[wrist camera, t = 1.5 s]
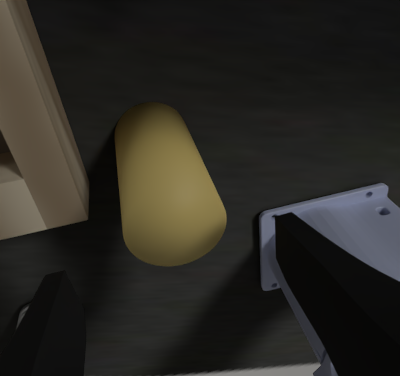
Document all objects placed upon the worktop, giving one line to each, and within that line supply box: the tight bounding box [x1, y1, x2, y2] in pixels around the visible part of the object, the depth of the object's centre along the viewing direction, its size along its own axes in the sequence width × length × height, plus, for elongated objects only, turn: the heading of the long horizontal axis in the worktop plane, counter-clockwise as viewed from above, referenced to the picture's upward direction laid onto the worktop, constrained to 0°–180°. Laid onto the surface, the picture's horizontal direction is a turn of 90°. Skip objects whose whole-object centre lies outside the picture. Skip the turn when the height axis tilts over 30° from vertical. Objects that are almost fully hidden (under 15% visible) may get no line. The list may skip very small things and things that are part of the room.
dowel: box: [114, 102, 226, 266], centre depth 18 cm, size 4×4×8 cm
